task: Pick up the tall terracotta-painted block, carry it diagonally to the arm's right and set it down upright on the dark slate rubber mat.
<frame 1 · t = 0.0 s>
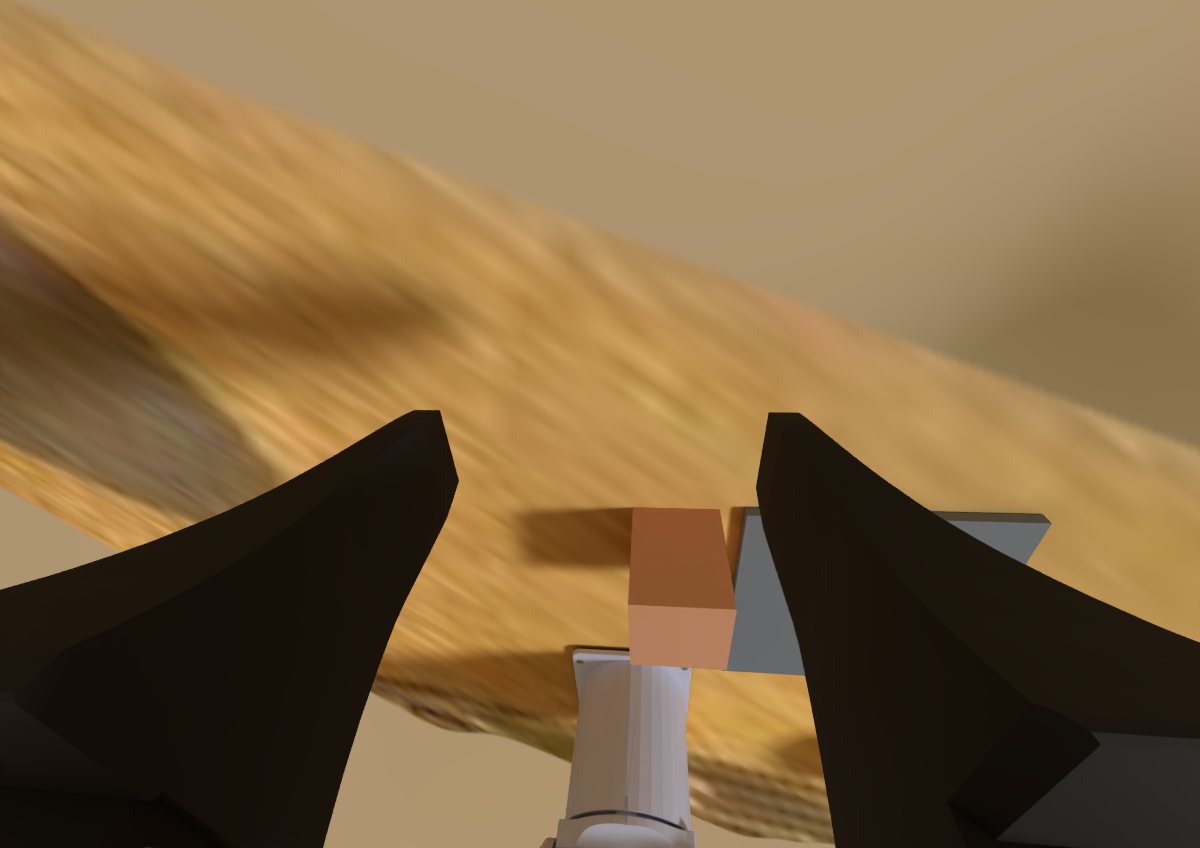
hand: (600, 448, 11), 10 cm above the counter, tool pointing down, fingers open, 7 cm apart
mat: (855, 600, 28), on the counter
block: (674, 538, 26), on the counter
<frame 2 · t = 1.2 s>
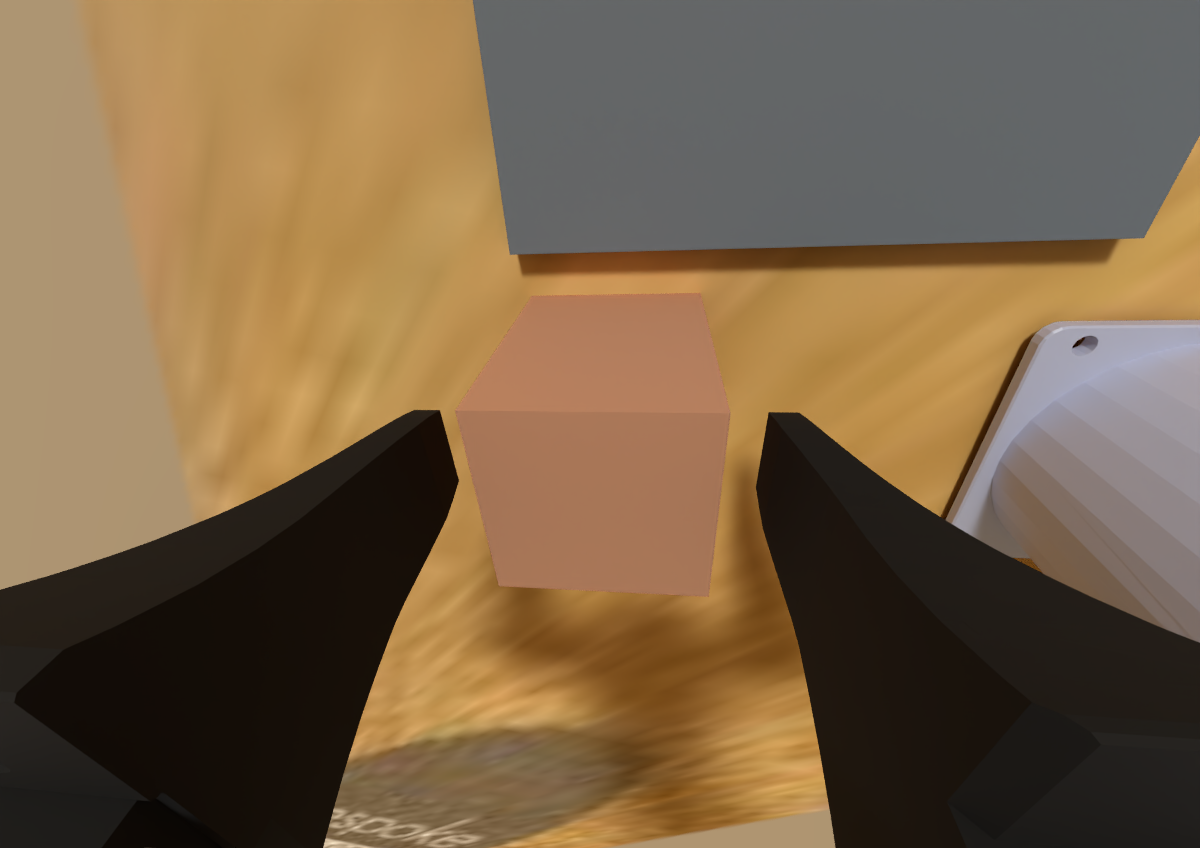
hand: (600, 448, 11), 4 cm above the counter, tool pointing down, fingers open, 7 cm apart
block: (617, 369, 14), on the counter
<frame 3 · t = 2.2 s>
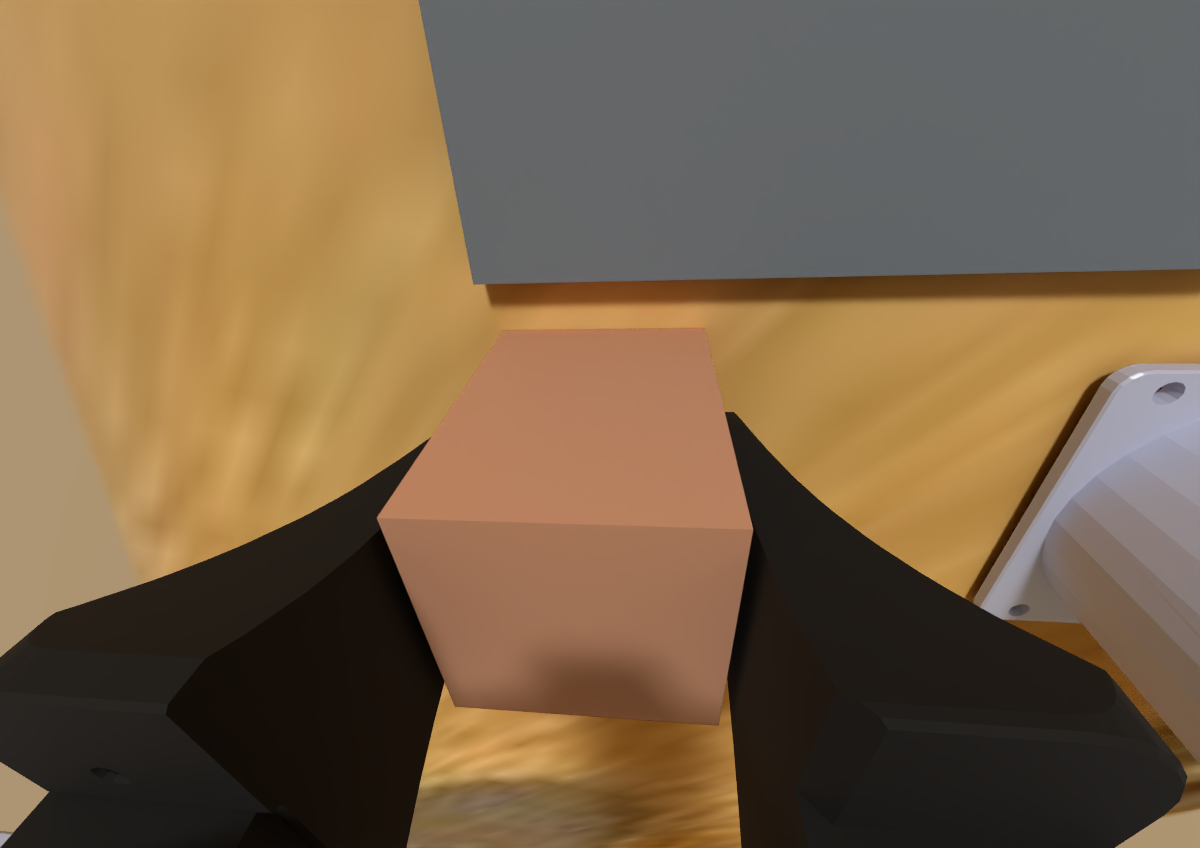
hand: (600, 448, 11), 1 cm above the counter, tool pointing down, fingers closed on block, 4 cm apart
block: (605, 415, 12), on the counter, touching gripper
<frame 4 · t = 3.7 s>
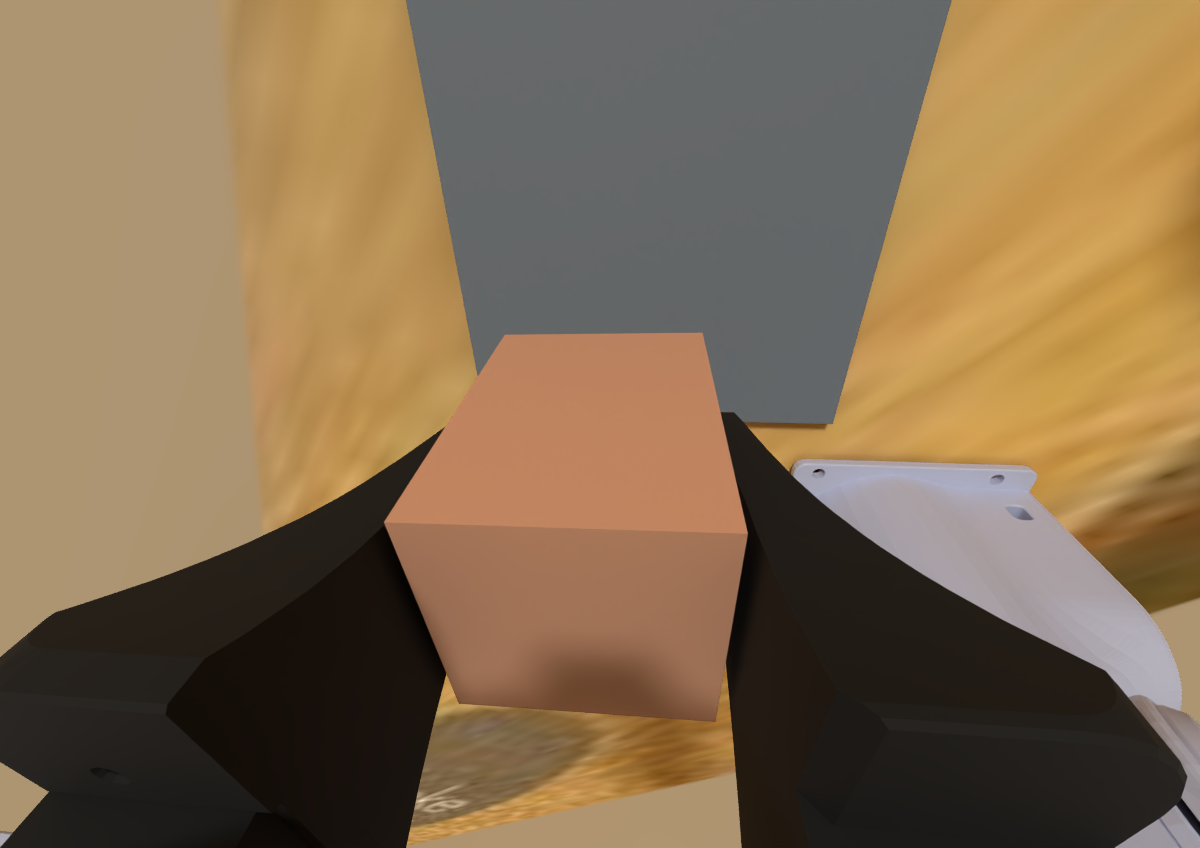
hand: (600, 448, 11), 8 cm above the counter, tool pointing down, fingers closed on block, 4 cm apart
mat: (659, 234, 16), on the counter
block: (605, 417, 12), point 7 cm above the counter, touching gripper
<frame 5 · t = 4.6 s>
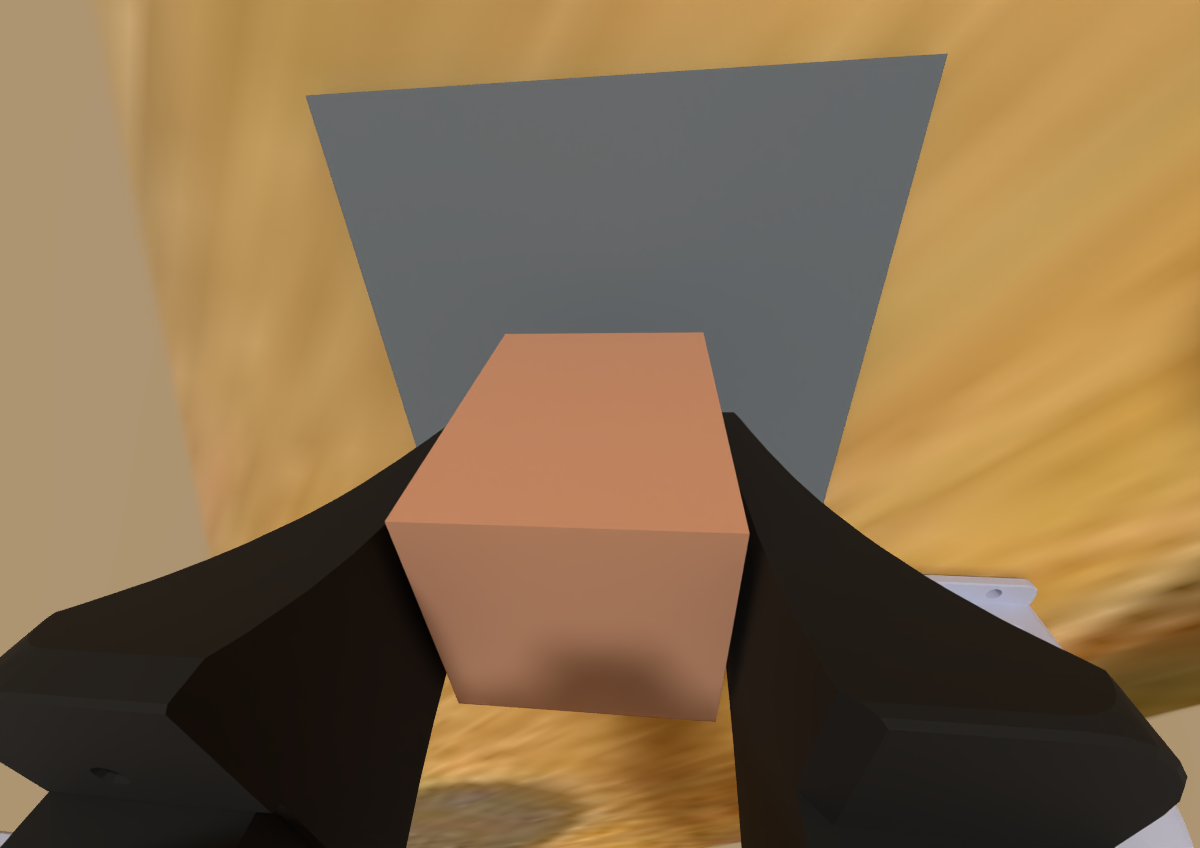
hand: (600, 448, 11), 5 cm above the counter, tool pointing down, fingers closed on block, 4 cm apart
mat: (615, 357, 15), on the counter
block: (606, 416, 12), point 3 cm above the counter, touching gripper
when the fingers open (4 cm above the counter, at t = 5.3 s): block drops 1 cm, resting on mat.
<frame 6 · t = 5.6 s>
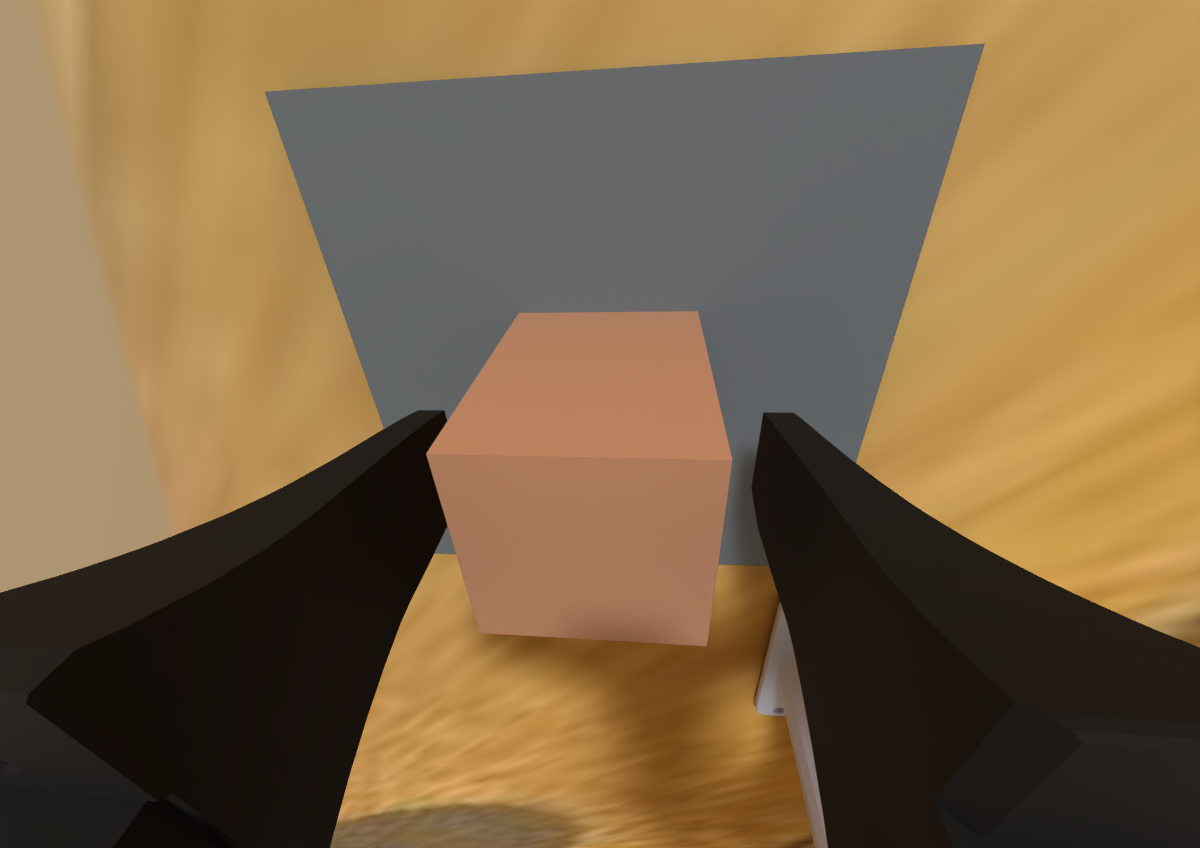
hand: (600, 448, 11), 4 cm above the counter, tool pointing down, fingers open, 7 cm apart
mat: (611, 376, 14), on the counter
block: (609, 390, 13), point 1 cm above the counter, touching mat
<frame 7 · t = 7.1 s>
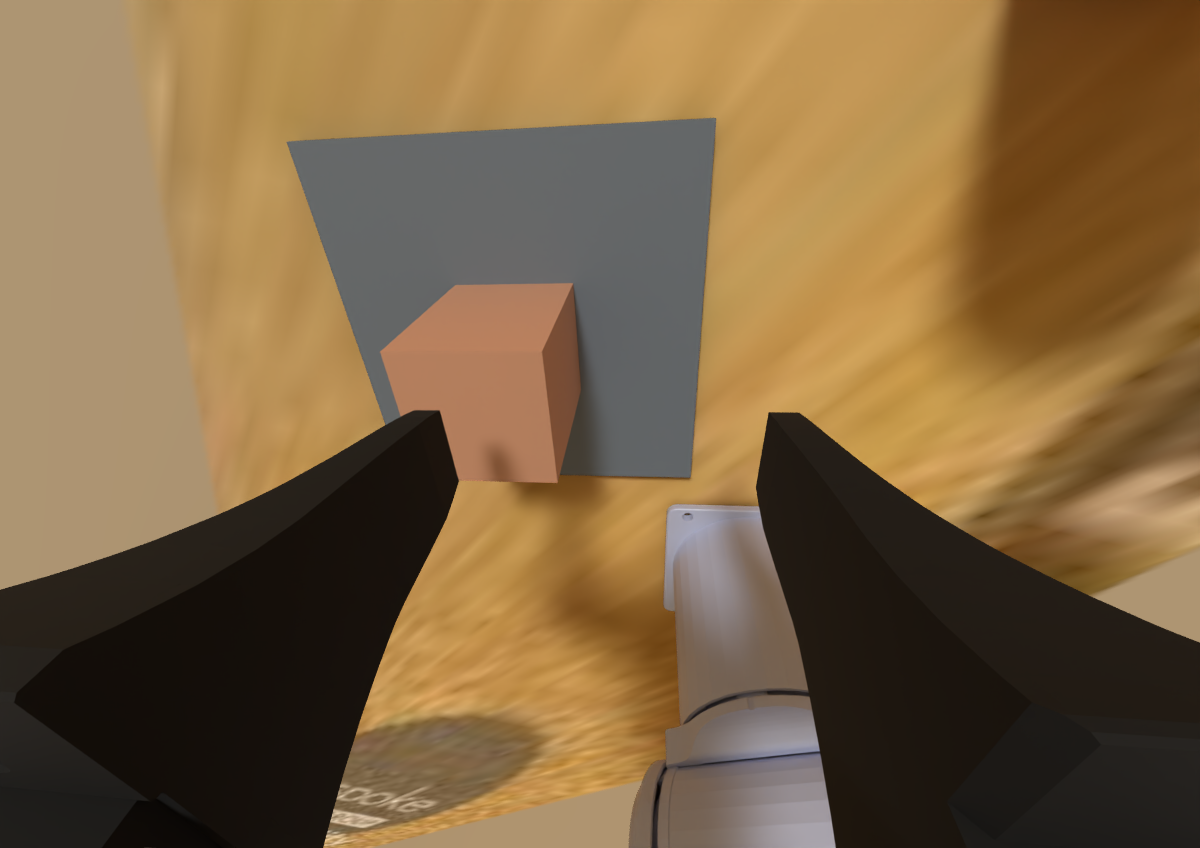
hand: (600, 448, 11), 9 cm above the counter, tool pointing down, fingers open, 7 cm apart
mat: (524, 331, 19), on the counter
block: (521, 340, 19), point 1 cm above the counter, touching mat
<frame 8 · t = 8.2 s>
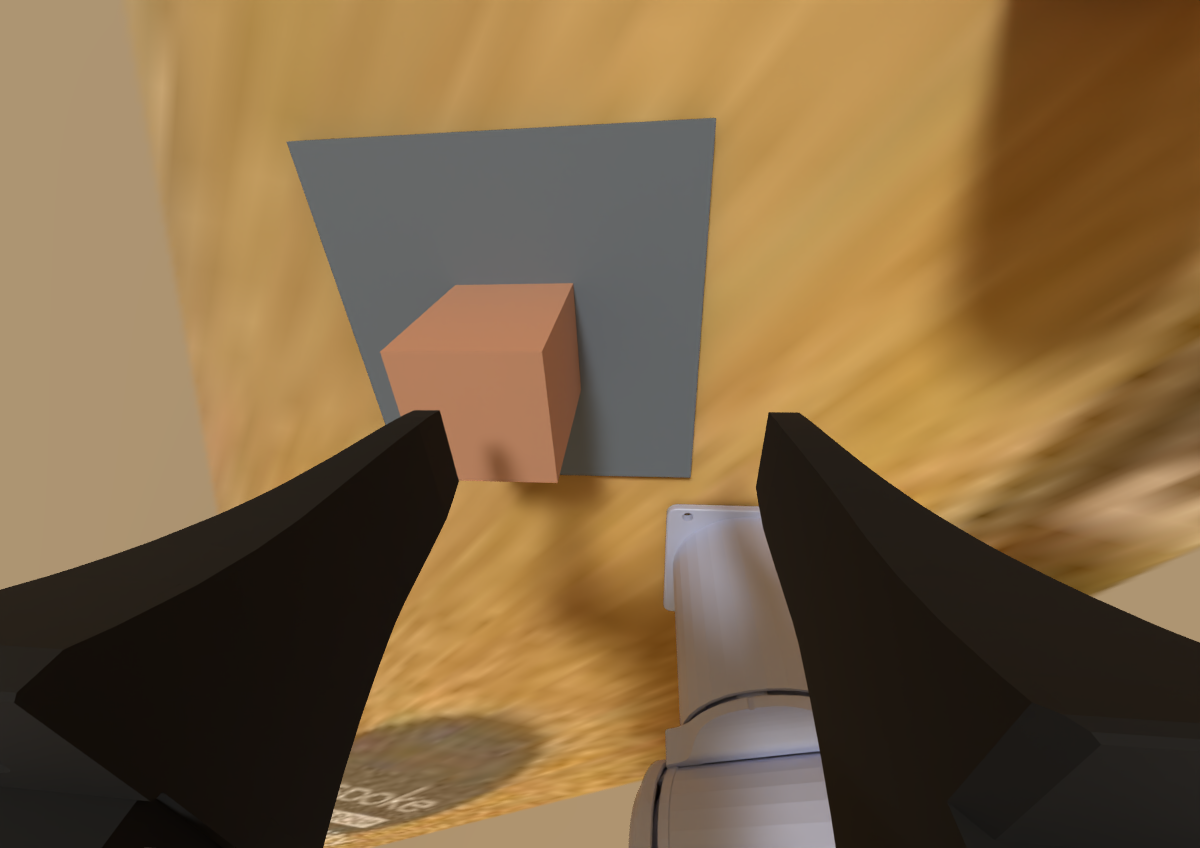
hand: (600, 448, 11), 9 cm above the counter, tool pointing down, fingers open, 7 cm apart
mat: (524, 331, 19), on the counter
block: (521, 340, 19), point 1 cm above the counter, touching mat
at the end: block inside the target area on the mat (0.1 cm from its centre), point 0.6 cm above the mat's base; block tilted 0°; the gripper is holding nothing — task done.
